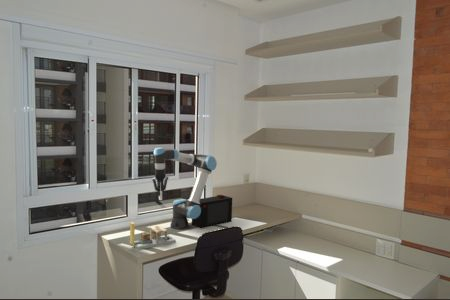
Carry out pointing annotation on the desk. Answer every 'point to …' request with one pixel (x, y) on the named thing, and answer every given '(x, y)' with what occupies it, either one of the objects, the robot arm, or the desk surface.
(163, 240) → the deck
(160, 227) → the tunnel
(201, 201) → the speaker
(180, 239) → the desk surface
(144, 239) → the block
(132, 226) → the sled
